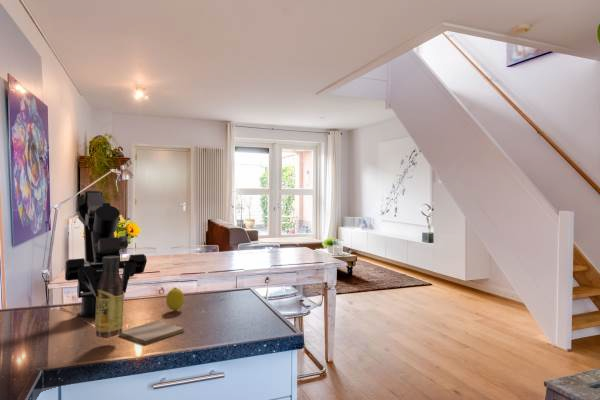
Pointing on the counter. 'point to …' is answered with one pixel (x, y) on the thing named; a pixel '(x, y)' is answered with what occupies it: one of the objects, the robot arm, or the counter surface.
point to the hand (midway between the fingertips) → (110, 293)
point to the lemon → (175, 299)
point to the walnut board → (151, 332)
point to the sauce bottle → (109, 299)
